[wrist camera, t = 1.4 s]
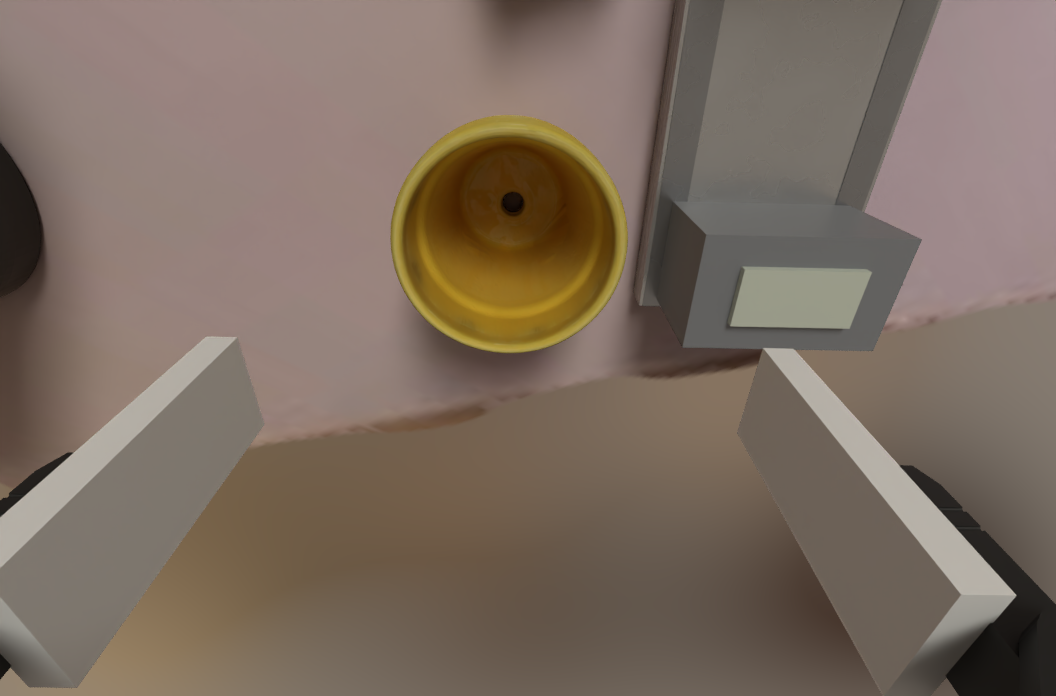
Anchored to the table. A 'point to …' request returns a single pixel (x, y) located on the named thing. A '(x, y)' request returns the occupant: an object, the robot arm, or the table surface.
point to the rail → (777, 106)
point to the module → (780, 275)
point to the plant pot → (508, 235)
